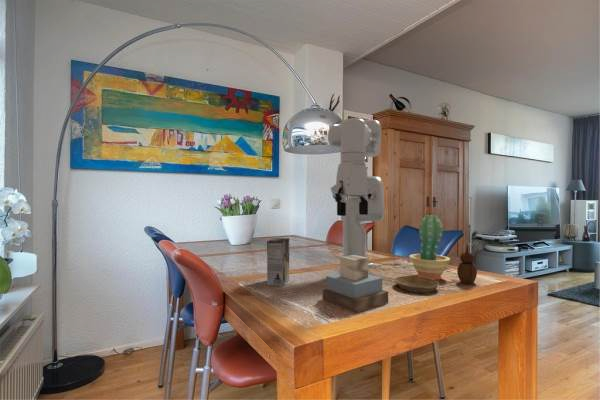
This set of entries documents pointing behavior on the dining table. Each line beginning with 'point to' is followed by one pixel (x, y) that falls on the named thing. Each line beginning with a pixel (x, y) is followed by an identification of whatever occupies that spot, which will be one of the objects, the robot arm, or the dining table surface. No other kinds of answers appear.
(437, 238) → the potted cactus
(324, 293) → the tower bottom
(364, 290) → the tower top
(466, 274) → the wooden figurine
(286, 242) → the coffee box
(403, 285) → the plant saucer
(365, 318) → the dining table surface
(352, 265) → the maple cube
